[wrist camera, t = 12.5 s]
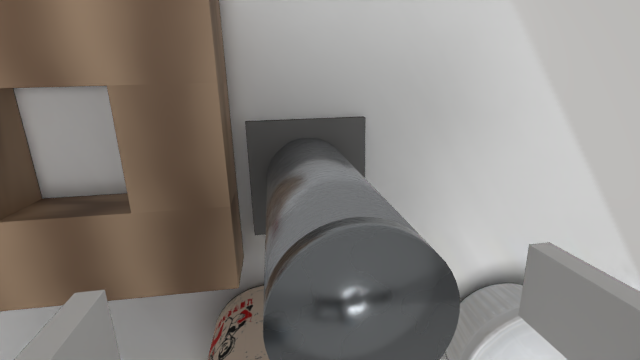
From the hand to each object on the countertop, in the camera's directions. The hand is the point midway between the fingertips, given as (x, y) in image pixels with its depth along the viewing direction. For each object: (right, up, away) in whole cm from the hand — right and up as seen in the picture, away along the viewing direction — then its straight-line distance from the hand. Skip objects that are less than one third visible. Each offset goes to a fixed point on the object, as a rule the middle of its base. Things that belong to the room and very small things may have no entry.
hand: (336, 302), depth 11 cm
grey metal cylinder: (-1, +4, +13) cm, 14 cm away
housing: (-15, +6, +11) cm, 20 cm away
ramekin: (+15, -9, +20) cm, 27 cm away
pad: (-1, +4, +14) cm, 14 cm away
